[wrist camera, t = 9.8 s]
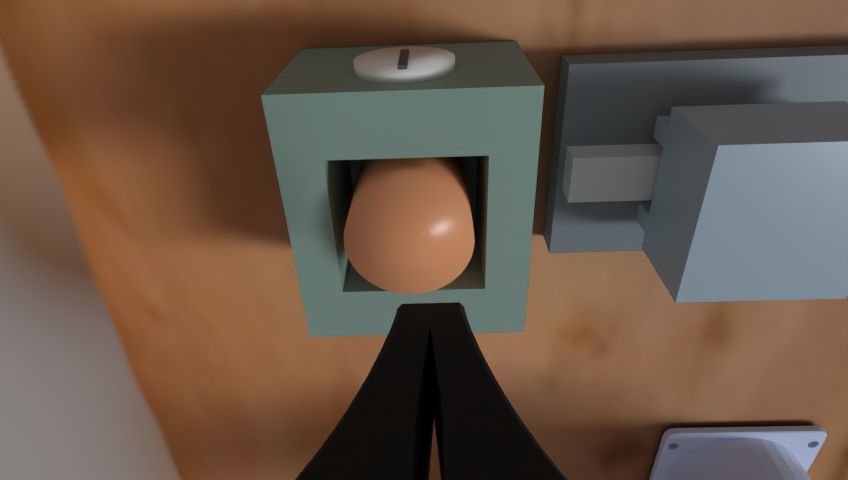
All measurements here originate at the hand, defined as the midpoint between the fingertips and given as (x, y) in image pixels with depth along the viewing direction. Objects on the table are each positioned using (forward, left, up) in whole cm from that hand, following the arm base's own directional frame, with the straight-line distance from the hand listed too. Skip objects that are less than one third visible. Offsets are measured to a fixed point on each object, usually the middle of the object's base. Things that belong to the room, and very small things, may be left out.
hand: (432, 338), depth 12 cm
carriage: (0, -10, -8) cm, 12 cm away
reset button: (0, +1, -8) cm, 8 cm away
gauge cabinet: (0, +1, -9) cm, 9 cm away
